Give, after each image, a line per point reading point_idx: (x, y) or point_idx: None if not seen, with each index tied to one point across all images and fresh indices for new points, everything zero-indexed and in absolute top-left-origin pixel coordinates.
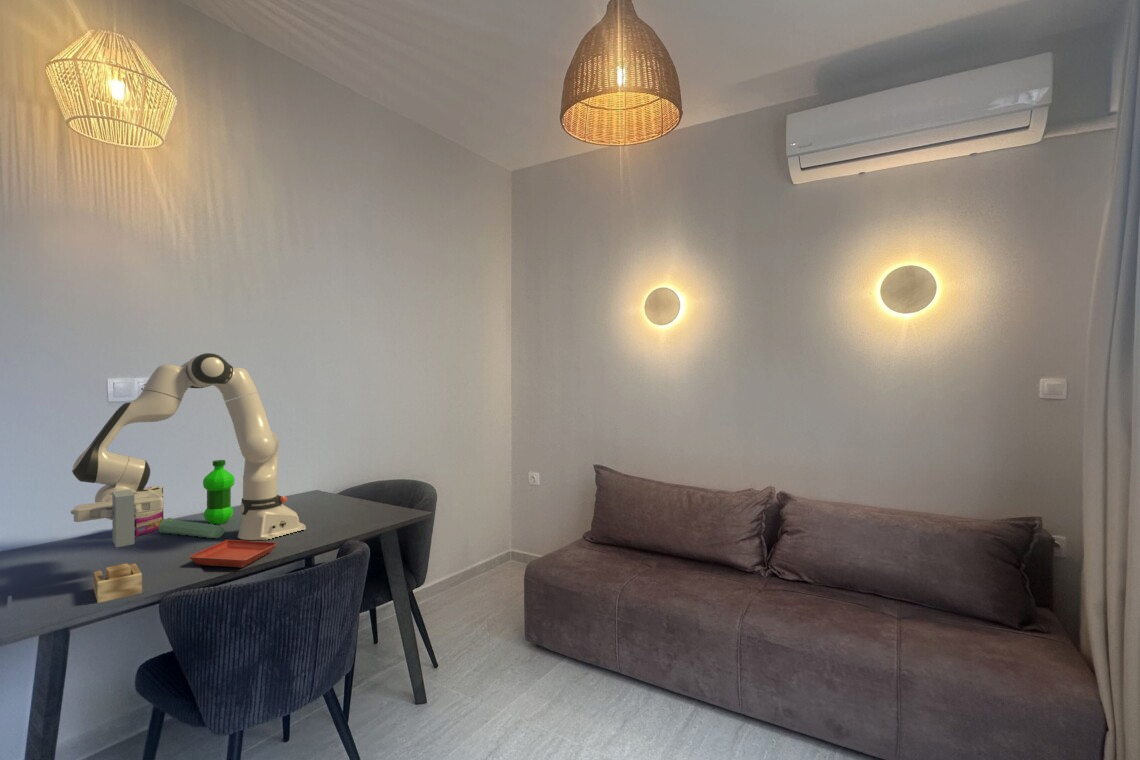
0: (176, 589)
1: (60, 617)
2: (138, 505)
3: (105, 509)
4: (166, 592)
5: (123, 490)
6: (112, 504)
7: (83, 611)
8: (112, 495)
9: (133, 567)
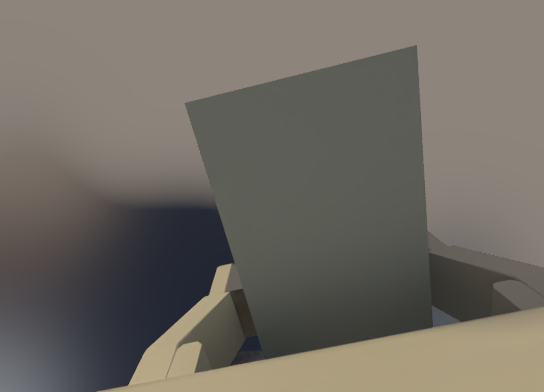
0: (239, 361)
1: (442, 314)
2: (186, 322)
3: (508, 282)
4: (259, 353)
5: (272, 82)
6: (421, 234)
7: None
8: (412, 109)
9: None
